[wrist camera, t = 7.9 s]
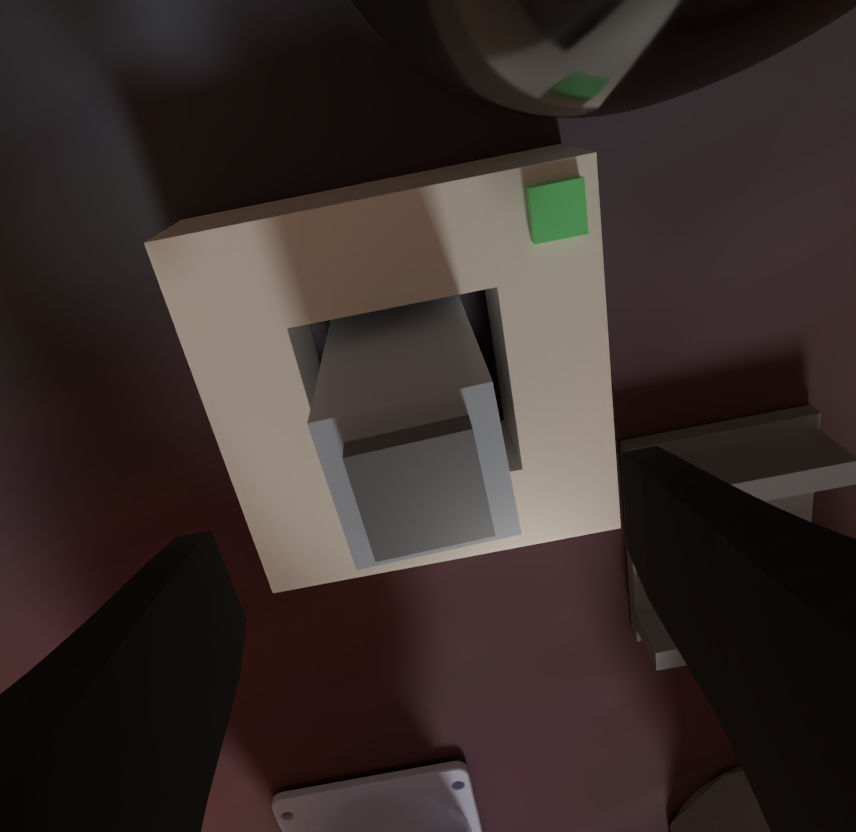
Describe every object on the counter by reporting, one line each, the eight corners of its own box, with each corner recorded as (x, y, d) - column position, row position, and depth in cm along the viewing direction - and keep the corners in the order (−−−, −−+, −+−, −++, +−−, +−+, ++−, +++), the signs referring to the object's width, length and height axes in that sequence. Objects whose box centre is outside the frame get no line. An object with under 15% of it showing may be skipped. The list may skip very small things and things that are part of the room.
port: (590, 473, 21) (625, 536, 18) (286, 531, 22) (270, 603, 19) (562, 143, 17) (601, 153, 14) (181, 220, 17) (137, 246, 14)
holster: (794, 599, 24) (836, 651, 22) (631, 629, 24) (656, 683, 22) (809, 404, 21) (861, 442, 19) (619, 440, 21) (648, 482, 19)
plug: (477, 396, 20) (527, 552, 13) (364, 421, 20) (355, 589, 13) (454, 284, 18) (497, 394, 12) (332, 312, 19) (303, 438, 12)
